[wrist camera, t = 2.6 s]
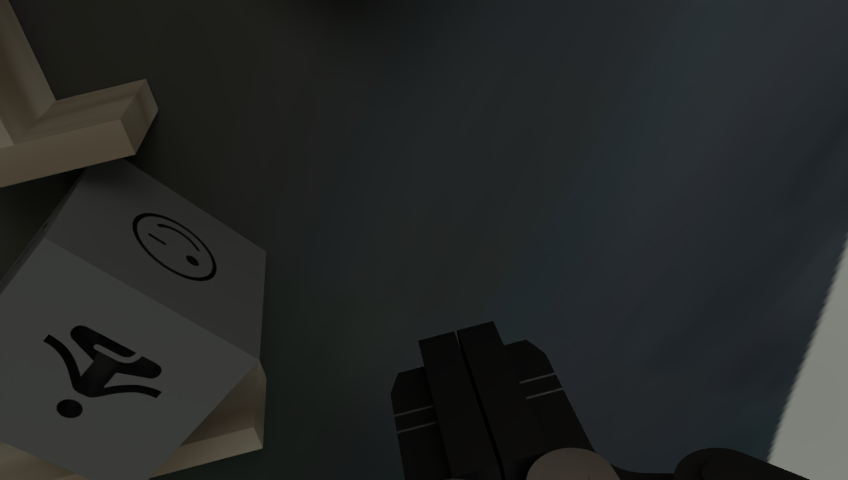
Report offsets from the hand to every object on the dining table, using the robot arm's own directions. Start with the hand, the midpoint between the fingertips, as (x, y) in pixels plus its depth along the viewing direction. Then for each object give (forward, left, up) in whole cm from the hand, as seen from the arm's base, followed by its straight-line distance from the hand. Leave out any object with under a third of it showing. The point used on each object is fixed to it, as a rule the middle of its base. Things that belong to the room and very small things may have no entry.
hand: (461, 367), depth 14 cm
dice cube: (0, -8, -7) cm, 11 cm away
